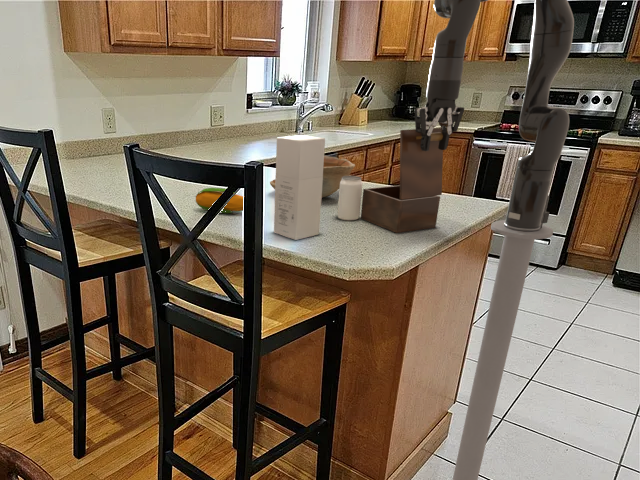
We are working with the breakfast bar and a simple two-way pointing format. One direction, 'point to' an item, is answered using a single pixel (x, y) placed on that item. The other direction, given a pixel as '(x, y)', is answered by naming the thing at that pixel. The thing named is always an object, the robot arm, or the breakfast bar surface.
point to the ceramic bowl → (332, 174)
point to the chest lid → (420, 165)
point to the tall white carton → (298, 186)
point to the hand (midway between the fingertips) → (433, 149)
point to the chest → (398, 210)
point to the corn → (212, 194)
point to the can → (349, 198)
